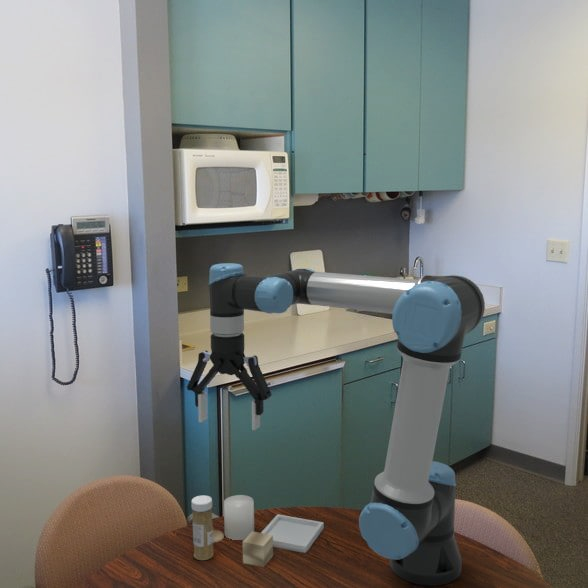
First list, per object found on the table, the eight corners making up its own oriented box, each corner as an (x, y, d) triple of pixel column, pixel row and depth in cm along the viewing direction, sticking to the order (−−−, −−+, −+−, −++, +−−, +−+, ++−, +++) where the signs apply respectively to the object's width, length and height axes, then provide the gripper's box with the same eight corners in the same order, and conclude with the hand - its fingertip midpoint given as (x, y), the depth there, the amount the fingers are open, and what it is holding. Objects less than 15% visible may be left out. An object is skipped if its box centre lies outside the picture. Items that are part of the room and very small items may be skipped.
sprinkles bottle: (217, 557, 154) (215, 500, 152) (198, 563, 151) (196, 505, 149) (208, 548, 157) (206, 492, 155) (189, 554, 155) (187, 497, 153)
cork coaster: (226, 534, 164) (226, 531, 164) (219, 545, 159) (218, 542, 159) (207, 532, 165) (206, 528, 165) (198, 542, 161) (198, 539, 161)
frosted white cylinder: (246, 542, 160) (245, 510, 158) (219, 537, 162) (218, 505, 161) (261, 526, 167) (260, 495, 166) (235, 521, 170) (234, 491, 169)
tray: (323, 528, 166) (323, 522, 166) (305, 553, 155) (305, 546, 155) (277, 520, 170) (277, 514, 170) (257, 543, 159) (257, 537, 159)
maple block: (273, 556, 154) (272, 535, 153) (263, 567, 149) (263, 546, 149) (252, 552, 156) (252, 531, 155) (243, 563, 151) (242, 541, 151)
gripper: (285, 334, 153) (285, 425, 156) (187, 325, 162) (190, 412, 166) (271, 341, 146) (272, 437, 149) (170, 332, 155) (173, 422, 159)
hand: (229, 424), depth 158 cm, fingers open, 13 cm apart
